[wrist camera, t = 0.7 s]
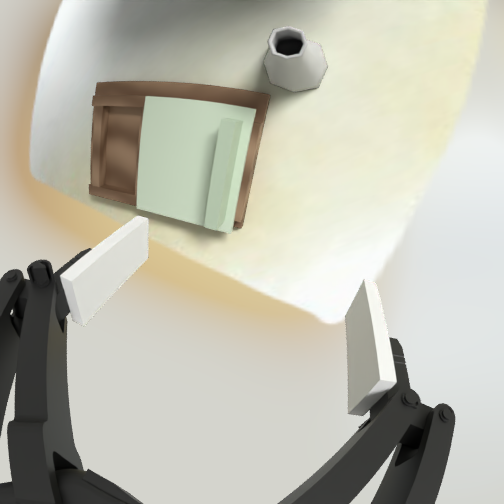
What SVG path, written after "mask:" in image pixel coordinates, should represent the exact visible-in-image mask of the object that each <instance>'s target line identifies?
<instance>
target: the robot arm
mask: <svg viewBox="0 0 504 504" xmlns="http://www.w3.org/2000/svg"><path fill="white" fill-rule="evenodd" d="M148 220H149V218H145V217H142V216H136V217H135V218H133V219H132V220H131V221H129V222H128V223H126V224H125V225H124V226H122V227H121V228H120V229H118V230H117V231H115V232H114V233H113V234H111V235H110V236H109V237H108V238H106V239H105V240H104V241H102V242H101V243H100V244H98V245H97V246H96V247H94V248H93V249H91V248H89V249H87V250H84V251H81V252H80V253H79V254H77V255H76V256H75V258H72V259H71V260H70V261H69V262H67V263H66V264H65V265H64V266H63V267H61V268H60V269H59V270H58V271H57V272H55V273H54V274H53V270H52V265H51V263H50V262H49V261H47V260H38V261H35V262H33V263H31V264H30V265H29V266H28V268H27V272H28V275H29V278H30V280H27V279H24V277H23V273H22V272H21V271H20V270H18V269H15V270H14V269H13V270H10V271H8V272H7V273H5V274H4V275H3V277H2V278H1V280H0V436H1V431H2V425H3V420H4V415H5V410H6V406H7V402H8V398H9V394H10V390H11V386H12V383H13V379H14V376H15V373H16V382H15V417H14V420H13V421H10V422H9V423H8V427H7V436H8V450H9V461H10V469H11V476H12V482H7V483H1V484H0V504H143V503H142V502H140V501H139V500H137V499H136V498H135V497H134V496H132V495H131V494H130V493H128V492H127V491H125V490H123V489H121V488H120V487H119V486H117V485H116V484H114V483H112V482H110V481H109V480H107V479H105V478H103V477H101V476H100V475H98V474H96V473H94V472H93V471H91V470H89V469H88V470H87V471H84V470H83V466H82V462H81V459H80V456H79V454H78V452H77V450H76V448H75V444H74V439H73V432H72V425H71V417H70V408H69V398H68V383H67V318H66V316H67V315H68V314H69V313H71V316H72V320H73V321H74V322H76V323H78V324H79V325H81V326H83V327H84V326H85V325H86V324H87V323H88V322H89V321H90V320H91V318H92V317H93V316H94V315H95V314H96V313H97V312H98V310H99V309H100V308H101V307H102V306H103V305H104V304H105V303H106V302H107V301H108V300H109V299H110V297H111V296H112V295H113V294H114V293H115V292H116V291H117V290H118V289H119V288H120V287H121V286H122V285H123V283H124V282H125V281H126V280H127V279H128V278H129V277H130V276H131V275H132V274H133V273H134V272H135V271H136V270H137V269H138V268H139V267H140V266H141V265H142V264H143V263H144V262H145V261H146V260H147V259H148ZM12 309H13V313H12V315H10V313H11V310H12ZM345 322H346V339H347V363H348V414H352V415H360V416H363V415H365V414H366V413H367V412H368V411H369V410H370V418H369V419H368V420H366V421H365V422H364V423H363V424H362V425H361V426H360V427H359V430H358V431H357V432H356V433H355V434H354V435H353V436H352V437H351V438H350V439H349V441H347V442H346V444H345V445H344V446H343V447H342V448H341V449H340V450H339V451H338V452H337V453H336V454H335V455H334V456H333V457H332V458H331V459H330V460H329V461H327V463H325V464H324V465H323V466H322V467H321V468H320V469H319V470H318V471H317V472H316V473H315V474H313V475H312V476H311V477H310V478H309V479H308V480H307V481H305V482H304V483H303V484H302V485H301V486H299V487H298V488H297V489H296V490H294V491H293V492H292V493H291V494H289V495H288V496H287V497H286V498H284V499H283V500H282V501H280V502H279V503H278V504H349V503H350V502H351V501H352V500H353V499H354V498H355V497H356V496H357V495H358V494H359V492H360V491H361V490H362V489H363V488H364V487H365V486H366V484H367V483H368V482H369V481H370V479H371V478H372V477H373V476H374V475H375V473H376V472H377V471H378V470H379V468H380V467H381V466H382V465H383V463H384V462H385V460H386V459H387V458H388V457H389V455H390V454H391V452H392V451H393V450H394V448H395V447H396V445H397V447H396V449H395V452H394V454H393V457H392V460H391V462H390V464H389V467H388V469H387V471H386V474H385V476H384V478H383V480H382V482H381V484H380V486H379V489H378V491H377V493H376V495H375V497H374V499H373V501H372V502H371V504H435V501H436V498H437V495H438V492H439V489H440V486H441V483H442V479H443V475H444V472H445V468H446V464H447V460H448V456H449V452H450V447H451V442H452V437H453V431H454V425H455V414H454V411H453V410H452V408H451V407H450V406H448V405H447V404H444V403H442V404H438V405H437V406H436V407H435V408H431V407H429V406H426V405H424V404H422V403H421V402H420V398H419V396H418V394H417V393H416V392H415V391H414V390H412V389H410V383H409V378H408V373H407V368H406V365H405V358H404V354H403V349H402V346H401V345H400V343H399V341H398V340H397V339H394V338H390V337H389V336H388V330H387V326H386V321H385V317H384V313H383V308H382V304H381V300H380V296H379V292H378V288H377V284H376V283H375V282H372V281H368V280H365V279H364V280H363V282H362V284H361V286H360V288H359V290H358V292H357V294H356V296H355V298H354V300H353V302H352V304H351V306H350V308H349V310H348V312H347V314H346V315H345Z"/></svg>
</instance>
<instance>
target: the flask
mask: <svg viewBox="0 0 504 504" xmlns="http://www.w3.org/2000/svg"><path fill="white" fill-rule="evenodd" d="M268 44H269V47H270V48H269V50H268V53H267V55H266V57H265V59H264V64H265V68H266V71H267V74H268V77H269V80H270V83H271V84H274V85H277V86H279V87H282V88H284V89H287V90H290V91H292V92H298V91H302V90H307V89H313V88H318V87H319V86H320V83H321V81H322V79H323V77H324V75H325V72H326V70H327V68H328V65H327V62H326V59H325V55H324V52H323V49H322V46H321V45H320V44H318V43H315V42H313V41H310V40H307V39H306V37H305V34H304V32H303V31H302V30H299V29H296V28H293V27H290V26H285V27H281V28H277V29H273V31H272V33H271V35H270V37H269V39H268Z"/></svg>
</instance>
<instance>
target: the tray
mask: <svg viewBox="0 0 504 504" xmlns="http://www.w3.org/2000/svg"><path fill="white" fill-rule="evenodd" d="M146 96H155V97H170V98H181V99H191V100H200V101H208V102H215V103H222V104H229V105H235V106H241V107H247V108H252V109H256V113H255V118H254V123H253V127H252V132H251V137H250V142H249V147H248V152H247V157H246V162H245V167H244V172H243V177H242V182H241V187H240V192H239V197H238V203H237V208H236V213H235V219H234V224H233V226H234V227H237V228H242V226H243V222H244V217H245V212H246V208H247V203H248V198H249V193H250V188H251V183H252V179H253V174H254V169H255V164H256V160H257V155H258V150H259V145H260V141H261V136H262V131H263V127H264V122H265V118H266V113H267V109H268V104H269V100H270V95H269V94H265V93H259V92H254V91H248V90H242V89H235V88H228V87H220V86H212V85H203V84H192V83H178V82H156V81H119V82H98V83H97V85H96V92H95V96H93V100H92V106H94V111H93V122H92V138H91V184H89V194H91V195H95V196H99V197H103V198H107V199H111V200H115V201H119V202H123V203H126V204H130V205H134V206H137V180H138V163H139V150H140V139H141V129H142V120H143V112H144V105H145V98H146Z"/></svg>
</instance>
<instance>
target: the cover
mask: <svg viewBox="0 0 504 504" xmlns="http://www.w3.org/2000/svg"><path fill="white" fill-rule="evenodd" d="M255 113H256V109H252V108H247V107H241V106H235V105H229V104H222V103H215V102H208V101H200V100H191V99H181V98H170V97H155V96H146V98H145V105H144V112H143V120H142V129H141V139H140V150H139V163H138V180H137V209H141V210H144V211H148V212H152V213H156V214H159V215H163V216H167V217H171V218H174V219H178V220H182V221H185V222H189V223H193V224H196V225H200V226H204V227H205V228H208V229H212V230H216V231H217V230H218V231H222V232H226V233H229V234H231V233H232V229H233V224H234V219H235V213H236V208H237V203H238V197H239V192H240V187H241V182H242V177H243V172H244V167H245V162H246V157H247V152H248V147H249V142H250V137H251V132H252V127H253V123H254V118H255Z"/></svg>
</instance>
